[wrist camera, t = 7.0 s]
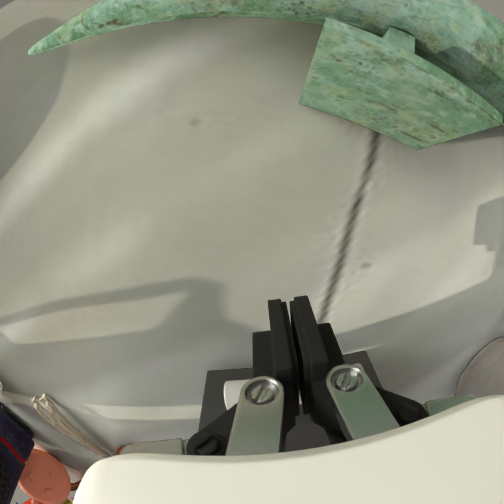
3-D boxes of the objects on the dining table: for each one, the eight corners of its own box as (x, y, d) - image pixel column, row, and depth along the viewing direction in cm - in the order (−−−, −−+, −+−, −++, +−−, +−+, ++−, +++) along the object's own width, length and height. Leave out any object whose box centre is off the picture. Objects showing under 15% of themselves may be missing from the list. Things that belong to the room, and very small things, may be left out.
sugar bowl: (20, 436, 26) (24, 438, 32) (4, 492, 15) (10, 485, 20) (77, 468, 30) (73, 465, 36) (64, 523, 19) (61, 512, 24)
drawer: (192, 323, 15) (161, 441, 8) (371, 300, 15) (433, 402, 8) (238, 451, 21) (236, 520, 14) (346, 438, 21) (361, 504, 14)
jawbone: (31, 395, 21) (25, 407, 20) (46, 391, 21) (40, 404, 19) (126, 464, 28) (124, 475, 26) (148, 463, 28) (146, 475, 26)
